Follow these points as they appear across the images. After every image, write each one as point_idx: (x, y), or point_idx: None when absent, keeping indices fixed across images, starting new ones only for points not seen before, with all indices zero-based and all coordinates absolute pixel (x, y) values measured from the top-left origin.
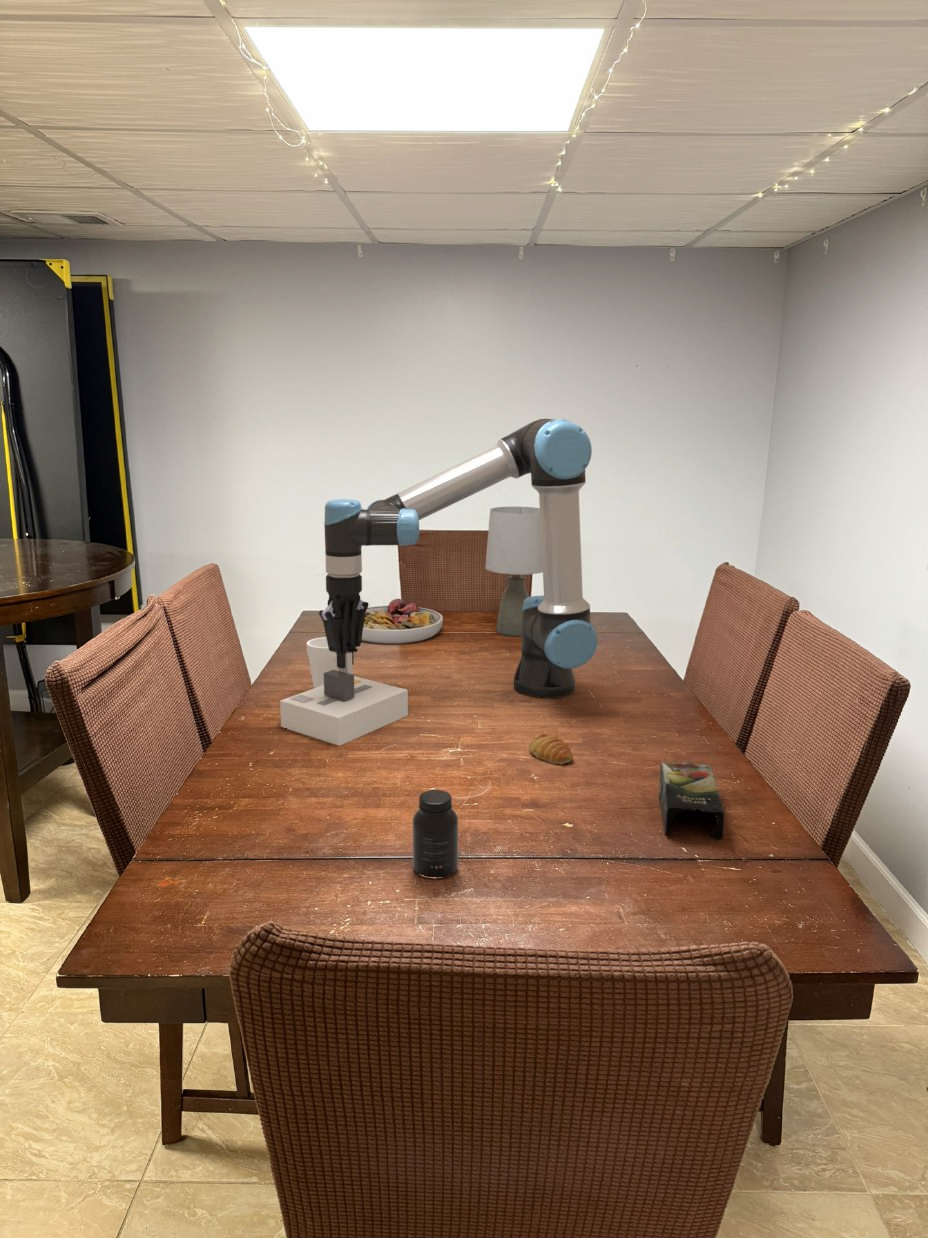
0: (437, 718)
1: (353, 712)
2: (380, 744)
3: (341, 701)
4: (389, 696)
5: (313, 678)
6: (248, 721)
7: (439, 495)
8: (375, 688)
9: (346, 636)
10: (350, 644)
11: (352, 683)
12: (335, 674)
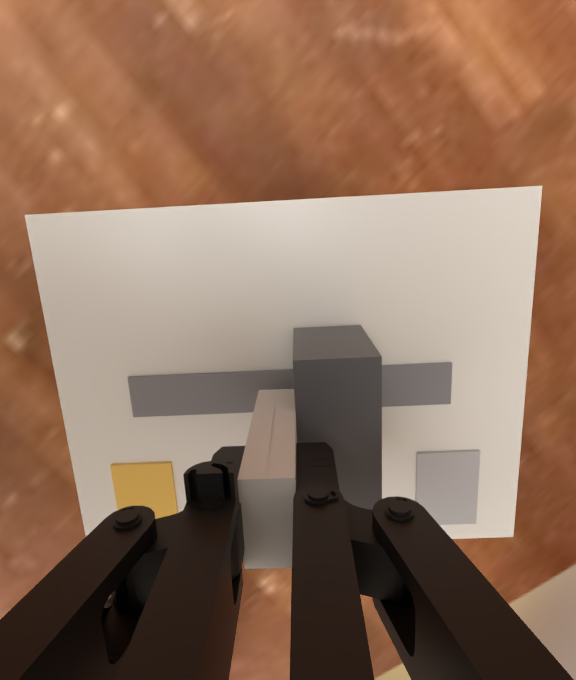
0: (19, 98)
1: (435, 192)
2: (376, 81)
3: None
4: (157, 217)
5: None
6: (491, 579)
7: None
8: (127, 351)
9: (297, 608)
10: (228, 540)
11: (307, 345)
12: (359, 446)
